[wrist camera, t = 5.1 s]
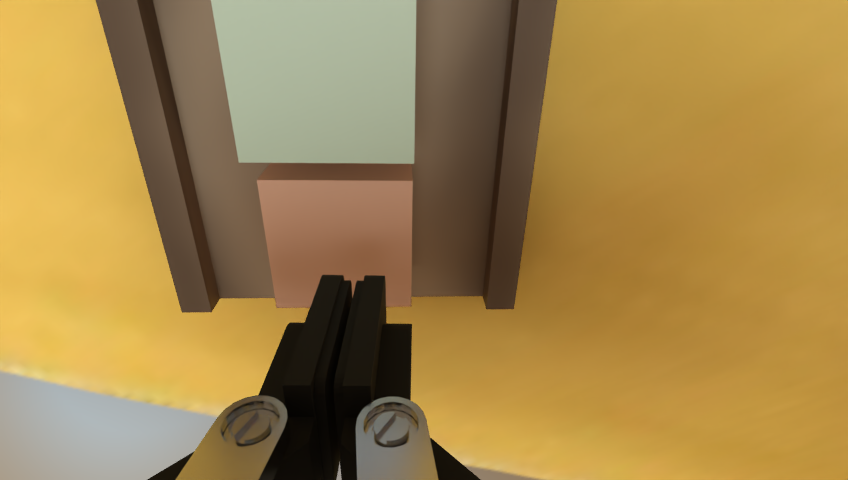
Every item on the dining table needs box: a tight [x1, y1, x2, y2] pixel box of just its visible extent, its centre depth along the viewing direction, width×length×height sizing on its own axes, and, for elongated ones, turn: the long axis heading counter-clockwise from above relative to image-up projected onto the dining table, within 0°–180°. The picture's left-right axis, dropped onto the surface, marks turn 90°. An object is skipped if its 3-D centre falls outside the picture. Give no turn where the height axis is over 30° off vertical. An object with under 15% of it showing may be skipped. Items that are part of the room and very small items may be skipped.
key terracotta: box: [257, 163, 413, 308], centre depth 17 cm, size 5×5×2 cm
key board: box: [96, 0, 557, 312], centre depth 16 cm, size 14×20×2 cm
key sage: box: [211, 0, 416, 164], centre depth 13 cm, size 5×5×2 cm
